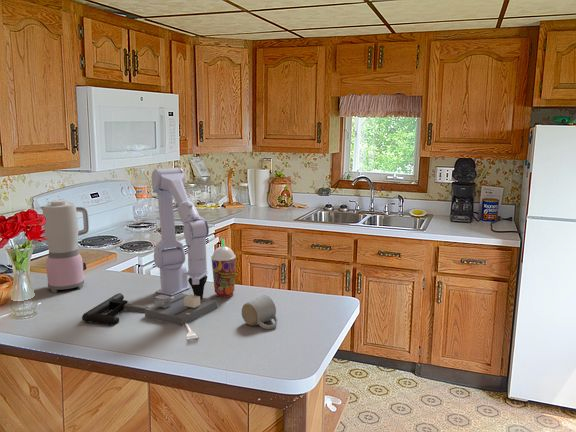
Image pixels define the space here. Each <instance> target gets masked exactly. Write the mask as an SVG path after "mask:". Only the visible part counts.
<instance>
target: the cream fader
mask: <svg viewBox="0 0 576 432" xmlns="http://www.w3.org/2000/svg"><path fill="white" fill-rule="evenodd" d="M199 305H200V296H196V295H194V294H191V293H190V294H188V296H185V297H184V306H188V307H192V308H195V307H197V306H199Z"/></svg>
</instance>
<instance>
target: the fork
mask: <svg viewBox="0 0 576 432" xmlns="http://www.w3.org/2000/svg"><path fill="white" fill-rule="evenodd" d="M184 326H186V327H185V329H186V331H187V334H186V340H187V341H188V340H189V341H190V340H195V339H196V340H197V339H199V338H200V337H199V336H197V334H196V332H194V331H193V330H192V329H191V327H190V325H189V323H185V325H184Z"/></svg>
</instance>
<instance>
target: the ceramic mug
mask: <svg viewBox="0 0 576 432" xmlns="http://www.w3.org/2000/svg"><path fill="white" fill-rule="evenodd" d="M276 307H277V306H276V305H275V302H274V300H273V299H272V298H271V297H270V296H268V295H267V294H263V295H260V296H258V297H256V298H254V299H252V300H250V301H247V302H245V303H244V304H243V306H242V307H241V316H242V319H243V322H245V323H246V324H247V325H249V326H258V325H259V326H260V327H261V328H262V329H265V330H273V329H275V328H276V327H277V324H278V318H277V316H276V315H277V308H276ZM271 320H273V321H274V324H266V323H267V322H269V321H271Z"/></svg>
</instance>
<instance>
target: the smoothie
mask: <svg viewBox="0 0 576 432" xmlns="http://www.w3.org/2000/svg"><path fill="white" fill-rule="evenodd" d="M210 257H211V258H210V259H211V267H212V277H213V278H212V279H213V287H214V293H215V294H216V296H217V297H220V298H228V297H231V296H233V295H234V292H235V286H236V285H235V282H236V280H235V279H236V278H235V277H236V257H237V255H236V254H235V252H234V251H233V250H232V249H231V248H230V247H228V246H226V245H225V239H224V238H221V246H219V247H217V248H216V249H215V250H214V251H213V253H212V255H211V256H210Z"/></svg>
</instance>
